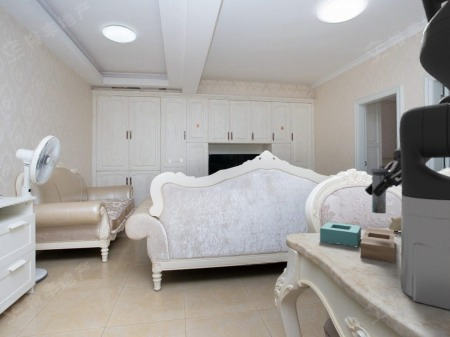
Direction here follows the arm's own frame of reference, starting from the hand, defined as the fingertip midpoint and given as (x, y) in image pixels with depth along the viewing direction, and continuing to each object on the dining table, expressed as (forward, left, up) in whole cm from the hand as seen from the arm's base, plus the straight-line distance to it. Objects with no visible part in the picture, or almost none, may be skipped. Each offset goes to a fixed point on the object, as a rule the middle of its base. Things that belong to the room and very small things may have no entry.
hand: (371, 193), depth 68 cm
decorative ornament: (+26, -6, -15) cm, 31 cm away
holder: (+4, +8, -15) cm, 18 cm away
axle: (+1, -2, -5) cm, 6 cm away
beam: (+1, -2, -15) cm, 15 cm away
